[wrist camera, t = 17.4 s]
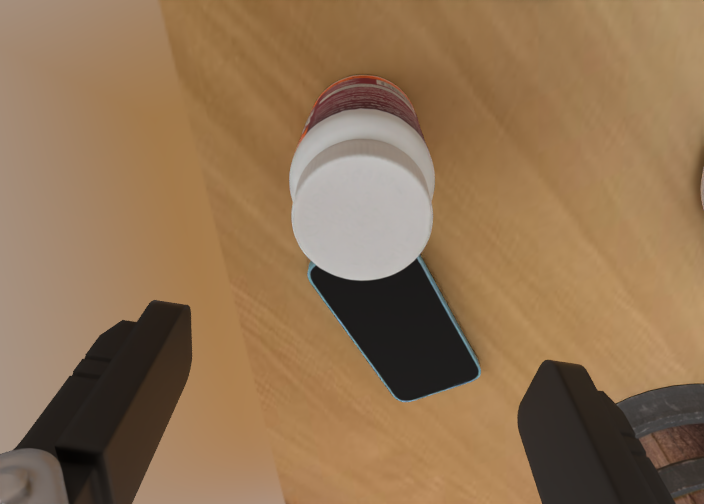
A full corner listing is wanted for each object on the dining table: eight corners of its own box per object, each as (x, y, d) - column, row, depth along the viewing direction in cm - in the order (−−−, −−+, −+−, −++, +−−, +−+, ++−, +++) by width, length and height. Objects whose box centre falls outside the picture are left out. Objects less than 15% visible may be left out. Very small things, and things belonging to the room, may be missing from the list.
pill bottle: (294, 89, 25) (247, 164, 15) (405, 58, 24) (430, 117, 14) (327, 190, 28) (306, 305, 18) (427, 166, 27) (459, 274, 17)
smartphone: (399, 405, 37) (300, 269, 30) (398, 394, 38) (302, 260, 30) (485, 377, 35) (401, 224, 28) (482, 366, 36) (400, 215, 29)
